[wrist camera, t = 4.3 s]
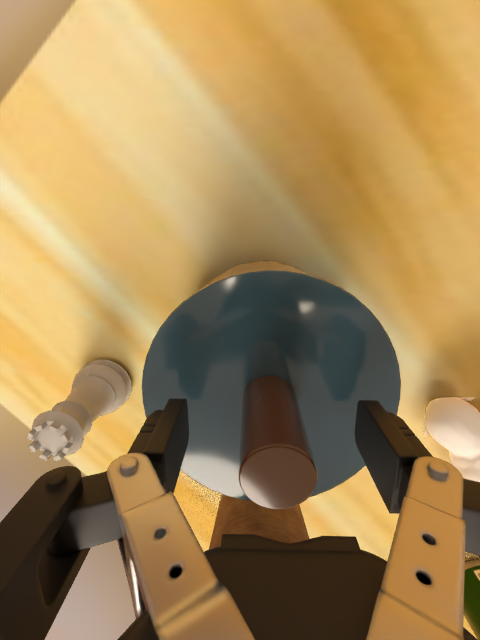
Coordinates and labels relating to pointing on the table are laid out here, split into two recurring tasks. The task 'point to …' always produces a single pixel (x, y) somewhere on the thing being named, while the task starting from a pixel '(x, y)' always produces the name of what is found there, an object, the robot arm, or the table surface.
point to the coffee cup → (258, 521)
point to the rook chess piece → (80, 409)
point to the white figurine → (456, 432)
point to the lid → (271, 383)
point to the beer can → (472, 595)
